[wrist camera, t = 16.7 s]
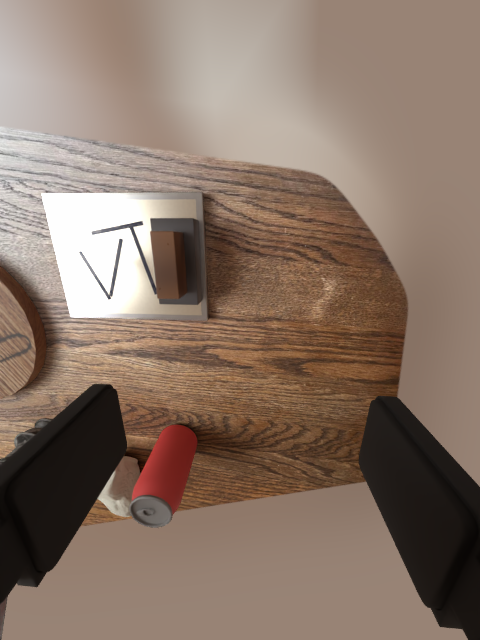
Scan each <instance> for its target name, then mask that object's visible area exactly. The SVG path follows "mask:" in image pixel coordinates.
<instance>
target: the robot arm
mask: <svg viewBox="0 0 480 640" xmlns="http://www.w3.org/2000/svg"><path fill="white" fill-rule="evenodd" d="M126 449H127V441H126V436H125V431H124V426H123V420H122V415H121V410H120V405H119V400H118V394H117V391H116V389H113V387H112V385H107V384H94V385H92V386H91V387H89V388H88V389H87V390H86V391H85V392H84V393H83V394H81V395H80V396H79V397H78V398H77V399H76V400H75V401H73V402H72V403H71V404H70V405H69V406H68V407H66V408H65V409H64V410H63V411H62V412H61V413H60V414H58V415H57V416H56V417H55V418H54V419H53V420H52V421H50V422H49V423H48V424H47V425H46V426H45V427H43V428H42V429H41V430H40V431H39V432H38V433H37V434H35V435H34V436H33V437H32V438H31V439H30V440H29V441H27V442H26V443H25V444H24V445H23V446H22V447H20V448H19V449H18V450H17V451H16V452H15V453H14V454H12V455H11V456H10V457H9V458H8V459H7V460H6V461H4V462H3V463H2V464H1V465H0V640H1V638H2V631H3V624H4V617H5V610H6V604H7V597H8V595H9V593H10V592H11V590H12V589H13V587H14V586H15V585H16V583H17V584H18V585H23V586H32V587H38V585H39V584H40V582H41V581H42V579H43V577H44V576H45V574H46V573H47V572H49V571H50V570H52V569H53V568H54V566H55V565H56V564H57V563H58V561H59V559H60V558H61V556H62V554H63V553H64V551H65V550H66V548H67V547H68V545H69V543H70V542H71V540H72V539H73V537H74V535H75V534H76V532H77V531H78V529H79V527H80V526H81V524H82V522H83V521H84V519H85V518H86V516H87V514H88V513H89V511H90V510H91V508H92V506H93V505H94V503H95V501H96V500H97V498H98V497H99V495H100V493H101V492H102V490H103V489H104V487H105V485H106V484H107V482H108V480H109V479H110V477H111V476H112V474H113V472H114V471H115V469H116V468H117V466H118V464H119V463H120V461H121V460H122V458H123V456H124V455H125V452H126ZM359 465H360V469H361V471H362V473H363V475H364V478H365V480H366V482H367V484H368V486H369V488H370V490H371V493H372V495H373V497H374V499H375V501H376V503H377V506H378V507H379V510H380V512H381V514H382V516H383V518H384V521H385V523H386V525H387V527H388V529H389V532H390V534H391V536H392V538H393V540H394V542H395V545H396V547H397V549H398V551H399V553H400V555H401V558H402V560H403V562H404V564H405V566H406V568H407V570H408V573H409V575H410V577H411V579H412V581H413V583H414V585H415V588H416V590H417V592H418V594H419V596H420V598H421V600H422V602H423V603H424V604H425V605H426V606H427V607H428V608H431V610H432V612H433V614H434V616H435V618H436V620H437V622H438V624H439V626H440V627H446V628H458V629H463V631H464V632H465V635H466V636H467V638H468V640H480V487H479V486H478V484H477V483H476V482H475V481H474V480H473V479H472V478H471V477H470V476H469V475H468V474H467V473H466V471H464V469H463V468H462V467H461V466H460V465H459V464H458V463H457V462H456V461H455V459H454V458H453V457H452V456H451V455H450V454H449V453H448V452H447V451H446V450H445V448H444V447H442V445H441V444H440V443H439V442H438V441H437V440H436V439H435V438H434V437H433V435H432V434H431V433H430V432H429V431H428V430H427V429H426V428H425V427H424V426H423V424H422V423H421V422H420V421H419V420H418V419H417V418H416V417H415V416H414V415H413V414H412V413H411V411H410V410H409V409H408V408H407V407H406V406H405V405H404V404H403V403H402V402H401V400H400V399H398V398H397V397H391V396H378V397H377V398H376V399H375V400H372V401H371V403H370V408H369V413H368V417H367V422H366V426H365V431H364V436H363V440H362V445H361V449H360V454H359Z"/></svg>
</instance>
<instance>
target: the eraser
mask: <svg viewBox="0 0 480 640" xmlns="http://www.w3.org/2000/svg"><path fill="white" fill-rule="evenodd" d="M150 222H151V231H150V237H151V246H152V255H153V264H154V273H155V282H156V291H157V298H158V299H159V304H175V305H198V304H199V303H200V302H201V301H202V280H201V260H200V239H199V221H198V220H196V219H194V218H150Z"/></svg>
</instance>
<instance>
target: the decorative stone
mask: <svg viewBox="0 0 480 640" xmlns="http://www.w3.org/2000/svg"><path fill="white" fill-rule="evenodd" d="M137 462H138V460H137V459H136V458H132V457H127V456H123V458H122V460H121V461H120V463H119V464H118V466H117V468H116V469H115V471H114V472H113V474H112V476H111V477H110V479H109V480H108V482H107V484H106V485H105V487H104V489H103V490H102V492H101V493H100V495H99V497H98V498H97V499H99V500H100V501H101V502H103V503H104V504H105V505H106V506H107V508H108V509H109V510H110V511H111V512H112V513H114V514H116V515H119V516H123V517H129V516H131V514H130V511H129V506H130V504H131V502H132V494H133V490H134V486H135V484H136V482H137V480H138V478H139V476H140V470H139V466H138V464H137Z"/></svg>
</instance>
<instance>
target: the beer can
mask: <svg viewBox="0 0 480 640" xmlns="http://www.w3.org/2000/svg"><path fill="white" fill-rule="evenodd" d="M197 443H198V442H197V437H196V435H195V434H194V432H193V431H192V430H191V429H190V428H188V427H186V426H183V425H171V426H168V427H166V428H165V429H164V430H163V431H162V433H161V434H160V436H159V438H158V440H157V442H156V444H155V446H154V448H153V450H152V452H151V454H150V456H149V458H148V460H147V462H146V464H145V466H144V468H143V470H142V472H141V474H140V476H139V478H138V480H137V482H136V484H135V486H134V490H133V494H132V502H131V504H130V506H129V511H130V514H131V516H132V517H133V518H134V520H136V521H137V522H138V523H140V524H142V525H144V526H147V527H162V526H165V525H166V524H168V523H169V522H170V521H171V519H172V515H173V514H174V513H175V511H176V510H177V508H178V507H179V505H180V503H181V499H182V496H183V493H184V489H185V486H186V482H187V479H188V475H189V472H190V468H191V465H192V461H193V458H194V455H195V451H196V448H197Z"/></svg>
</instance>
